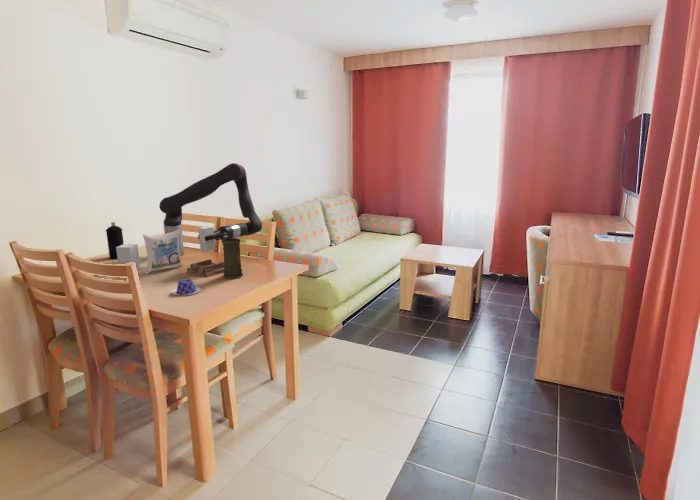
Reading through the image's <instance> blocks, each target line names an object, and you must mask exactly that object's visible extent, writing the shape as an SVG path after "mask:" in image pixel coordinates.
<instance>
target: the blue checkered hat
mask: <svg viewBox="0 0 700 500" xmlns="http://www.w3.org/2000/svg"><path fill="white" fill-rule="evenodd" d="M201 290H202V289H201V287H199V286H195V282H194V281H193V280H192V279H190V278H188V279H186V278H185V279H180V280H179V281H178V282H177V287H176V288H174V289H173V290H171V291H170V292H171V294H172V295H175V296H190V295H195V294H198V293H199V292H200V291H201Z"/></svg>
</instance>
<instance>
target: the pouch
mask: <svg viewBox="0 0 700 500" xmlns="http://www.w3.org/2000/svg"><path fill="white" fill-rule="evenodd" d="M179 231H180V229H178V230H176V231H173V232H170V233H166V234H165V233H161V234H151V235H149V234H142V237H143V240H144V244H145V250H146V263H147V264H146V275H147V274H149V273H152V272H153V271H157V270H161V269H164V268H167V267H175V266H176V267H177V266H181V267H182V266H183V263H182V261H181V260H182V259H181V255H180V253H179Z"/></svg>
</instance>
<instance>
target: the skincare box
mask: <svg viewBox="0 0 700 500" xmlns="http://www.w3.org/2000/svg"><path fill="white" fill-rule="evenodd" d="M197 230H198V235H199V239H198V240H199V247H200V252H201V253H210V252H213V251H215V250H216V243H215V240H209V241H205V236H209V235H213V234H214V232H213V231H214V226H211V225H206V226H202V227H198V229H197Z"/></svg>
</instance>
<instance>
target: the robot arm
mask: <svg viewBox="0 0 700 500" xmlns="http://www.w3.org/2000/svg"><path fill="white" fill-rule="evenodd" d="M247 178H248V177H247V172H246V169H245V167H244V166H242V165H240V164H239V163H230V164H228V165H226V166H225V167H223V168H221V169H220V170H219V171H217V172H215V173H213V174H211V175H209V176H207V177H204V178H202V179H200V180H198V181H196V182H194V183H192V184H191V185H189V186H187V187H186V188H184V189H182V190H181V191H179V192H177V193H176V194H173V195H170V196H167V197H164V198H163V199H162V200H160V202H159V204H158V206H159V209H160V211H161V212H162V213H164V214H165V218H164V219H163V231H164V234H166V233H170V232H173V231H176V230H178V229H180V231H179V253H180V256H183V255H184V253H185V251H184V238H183V237H184V236H183V230H182V229H183V228H182V220H183V207H184V206H186V205H187V204H191V203H194V202H197V201H200V200H202V199H204V198H206V197H208V196H210V195H212V194H213V193H215V192H216V191H217V190H218V189H219V188H220V187H221V186H223V185H225V184H227V183H230V182H232V181H233V182H234V184H235V185H236V189H237V196H238V204H239V205H238V206H239V208H240V211H241V214H242V217H243V218H244V219H247V218H248V220H249V221H248V222H244V223H243V222H240V223H235V224H227V225H221V226H220V227H219V228H218V230H217V229H215V230H213V232H214V234H213V235H209V236H205V241H209V240H214V241H220V240H221V241H222V240H224V239H230V238H236V239H238V238H241V237H244V236H251V235H255V234H257V233H259V232H261V231H262V228H263V223H262V221H261V219H260V218H259V216H258V214H257V212H256V211H255V207H254V204H253V200H252V197H251V195H250V190H249V185H248V179H247ZM197 237H198V240H199V234H198V235H197Z"/></svg>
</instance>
